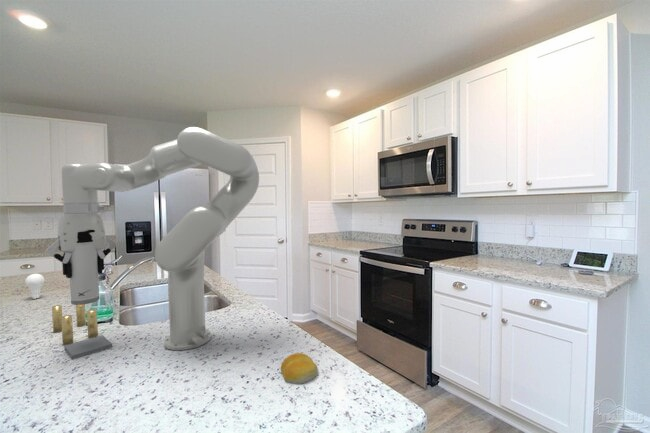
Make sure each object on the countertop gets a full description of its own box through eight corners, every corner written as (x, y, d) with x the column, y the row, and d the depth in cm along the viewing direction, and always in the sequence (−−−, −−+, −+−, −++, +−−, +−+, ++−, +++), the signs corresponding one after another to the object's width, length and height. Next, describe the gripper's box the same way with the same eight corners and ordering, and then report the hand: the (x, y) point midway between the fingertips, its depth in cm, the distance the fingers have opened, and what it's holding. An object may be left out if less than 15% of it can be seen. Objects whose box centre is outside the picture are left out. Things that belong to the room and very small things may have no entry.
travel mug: (85, 305, 84) (81, 230, 83) (65, 304, 85) (61, 230, 84) (106, 298, 90) (102, 228, 89) (86, 297, 91) (83, 228, 90)
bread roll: (287, 389, 68) (286, 370, 67) (278, 368, 76) (277, 352, 76) (323, 380, 71) (322, 363, 70) (310, 362, 79) (310, 346, 79)
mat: (112, 347, 88) (112, 343, 88) (72, 359, 82) (71, 355, 82) (102, 338, 94) (102, 335, 94) (64, 349, 88) (64, 345, 88)
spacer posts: (99, 336, 96) (97, 310, 96) (63, 346, 90) (62, 318, 89) (84, 323, 107) (83, 300, 106) (52, 331, 100) (51, 306, 100)
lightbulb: (36, 301, 133) (34, 275, 132) (22, 301, 133) (20, 275, 132) (49, 296, 139) (47, 272, 138) (35, 297, 139) (34, 272, 138)
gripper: (113, 209, 95) (116, 268, 96) (36, 210, 82) (40, 279, 83) (121, 209, 90) (124, 271, 91) (41, 211, 77) (45, 283, 78)
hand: (84, 274), depth 87 cm, fingers closed on travel mug, 6 cm apart
